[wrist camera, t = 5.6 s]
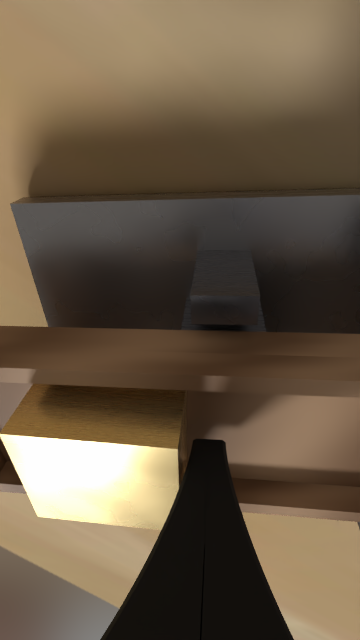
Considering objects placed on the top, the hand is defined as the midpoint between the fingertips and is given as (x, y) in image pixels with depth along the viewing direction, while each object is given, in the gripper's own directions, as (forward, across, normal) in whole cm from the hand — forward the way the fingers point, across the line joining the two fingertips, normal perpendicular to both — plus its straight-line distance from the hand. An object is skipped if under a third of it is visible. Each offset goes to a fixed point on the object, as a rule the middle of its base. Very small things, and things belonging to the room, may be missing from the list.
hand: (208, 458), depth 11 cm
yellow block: (+1, +3, 0) cm, 4 cm away
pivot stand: (+6, 0, 0) cm, 6 cm away
